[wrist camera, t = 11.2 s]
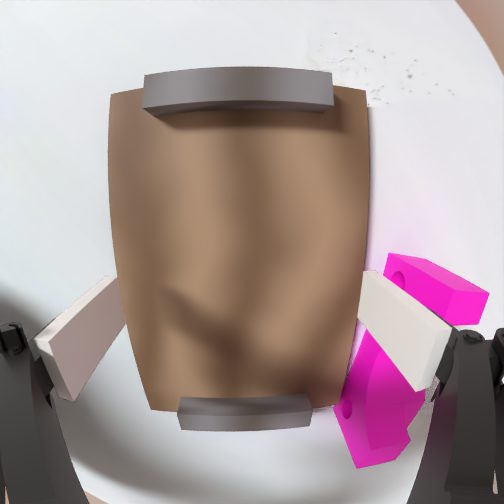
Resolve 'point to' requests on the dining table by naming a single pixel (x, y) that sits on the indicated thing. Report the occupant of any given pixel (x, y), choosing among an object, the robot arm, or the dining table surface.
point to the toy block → (385, 371)
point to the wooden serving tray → (240, 240)
